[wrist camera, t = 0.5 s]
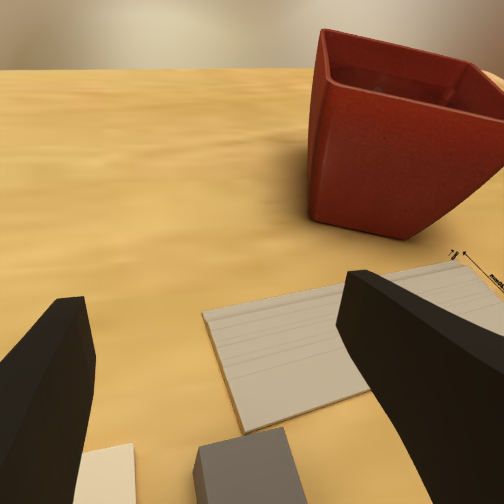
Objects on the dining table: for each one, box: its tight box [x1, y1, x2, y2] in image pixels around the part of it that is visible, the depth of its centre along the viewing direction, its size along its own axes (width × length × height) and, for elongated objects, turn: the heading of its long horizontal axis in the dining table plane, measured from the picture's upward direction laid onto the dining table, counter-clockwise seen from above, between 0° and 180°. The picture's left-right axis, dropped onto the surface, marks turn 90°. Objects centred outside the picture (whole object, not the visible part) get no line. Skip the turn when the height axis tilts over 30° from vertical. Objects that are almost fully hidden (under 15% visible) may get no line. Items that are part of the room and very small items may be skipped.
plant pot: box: [308, 29, 504, 240], centre depth 43 cm, size 19×19×17 cm
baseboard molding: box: [202, 250, 504, 435], centre depth 34 cm, size 31×3×12 cm
